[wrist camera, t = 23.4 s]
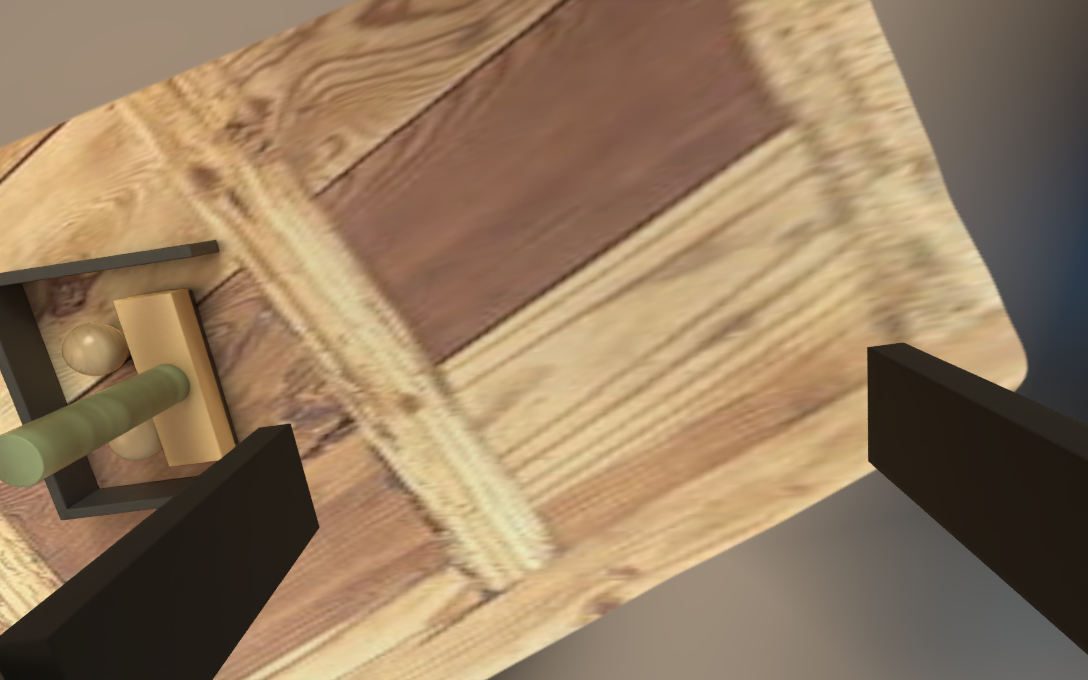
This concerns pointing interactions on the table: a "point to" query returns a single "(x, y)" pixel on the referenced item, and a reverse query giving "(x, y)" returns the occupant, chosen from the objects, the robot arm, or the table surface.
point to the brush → (136, 397)
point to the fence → (18, 351)
